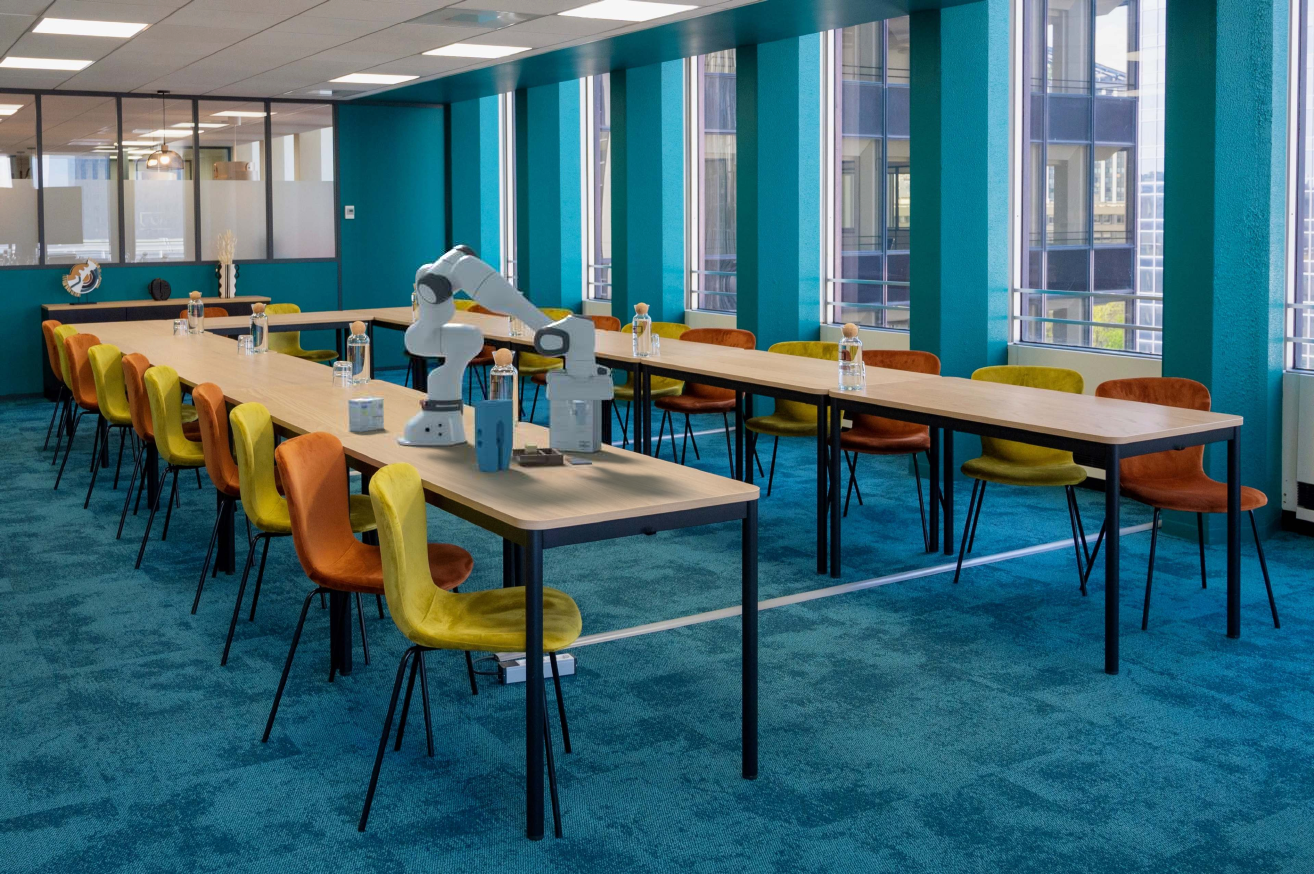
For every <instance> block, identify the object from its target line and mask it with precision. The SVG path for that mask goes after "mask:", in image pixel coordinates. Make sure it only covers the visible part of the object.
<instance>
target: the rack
mask: <svg viewBox="0 0 1314 874" xmlns="http://www.w3.org/2000/svg"><path fill="white" fill-rule="evenodd" d="M511 459H512V460H514V462H515V463H517V464H518V465H519V466H520V467H528V466H529V467H531V466H533V467H534V466H554V465H555V466H557V465H565V464H564V461H565V457H564V454H563V453H561V452H560V451H559V450H556V449H555V448H550V447H537V455H525V448H513V449H512V454H511Z"/></svg>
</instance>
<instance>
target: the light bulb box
mask: <svg viewBox="0 0 1314 874" xmlns="http://www.w3.org/2000/svg"><path fill="white" fill-rule="evenodd" d="M384 413H385V412H384V398H382V397H373V396H370V397H361V398H356V399H348V424H349V425H348V428H349V431H354V432H360V433H361V432H369V431H376V430H383V429H384V428H385V423H384V422H385V421H384V420H385V418H384V415H385V414H384Z"/></svg>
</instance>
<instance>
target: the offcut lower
mask: <svg viewBox="0 0 1314 874" xmlns="http://www.w3.org/2000/svg"><path fill="white" fill-rule="evenodd" d="M525 455H537V452H527V451H526V450H525Z"/></svg>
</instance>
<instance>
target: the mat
mask: <svg viewBox="0 0 1314 874" xmlns="http://www.w3.org/2000/svg"><path fill="white" fill-rule="evenodd" d="M564 461H567V462H568V463H570V464H571V465H572V466H574V465H575V466H576V465H580V466H581V465H592V464H593V462H592V461H591V460H589V459H587V458H585V457H584V456H581V457H578V456H577V457H564Z"/></svg>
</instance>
